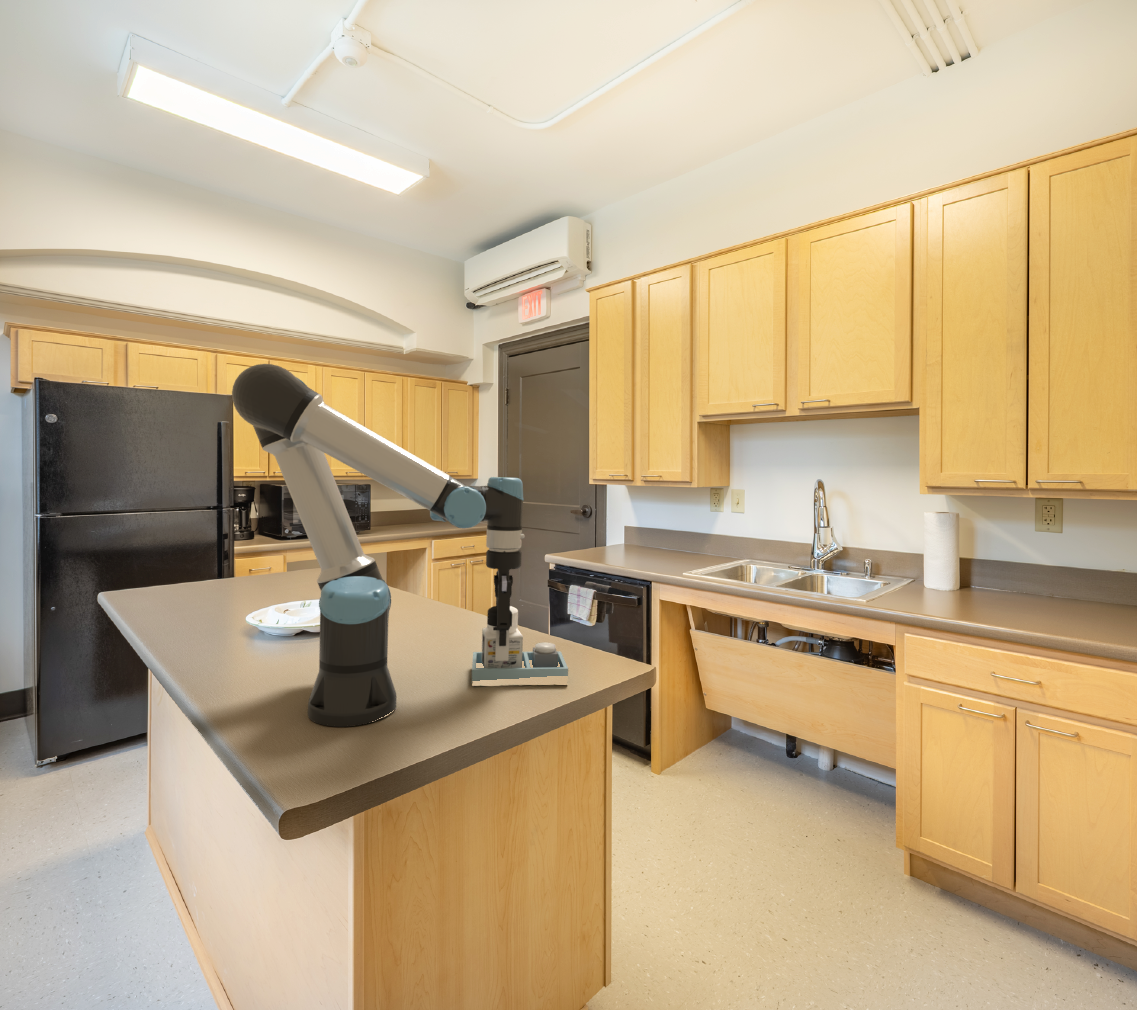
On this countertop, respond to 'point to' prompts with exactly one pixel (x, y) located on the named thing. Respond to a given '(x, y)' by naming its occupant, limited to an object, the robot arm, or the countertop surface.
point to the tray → (542, 662)
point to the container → (490, 641)
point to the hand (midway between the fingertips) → (501, 653)
